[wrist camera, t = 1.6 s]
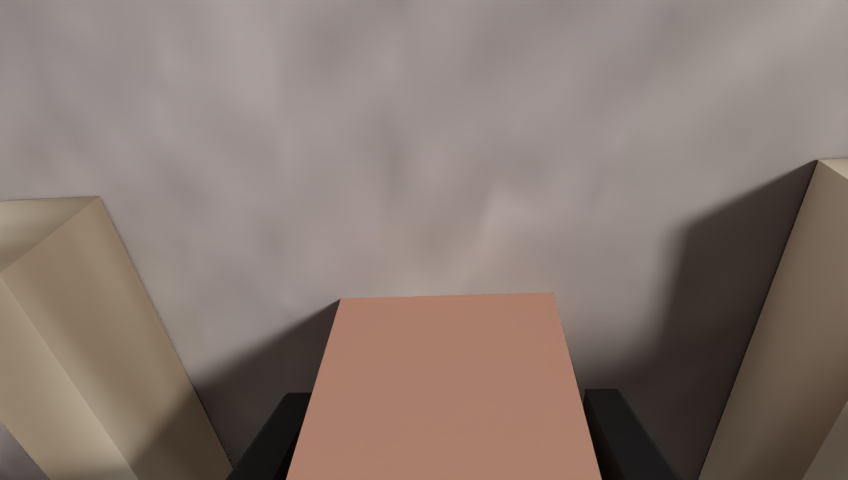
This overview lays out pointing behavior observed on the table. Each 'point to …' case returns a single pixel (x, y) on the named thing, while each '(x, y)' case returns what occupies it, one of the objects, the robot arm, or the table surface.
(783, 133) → the table surface
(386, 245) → the table surface
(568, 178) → the table surface
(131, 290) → the wooden u-shaped frame
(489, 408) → the block
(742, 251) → the table surface
